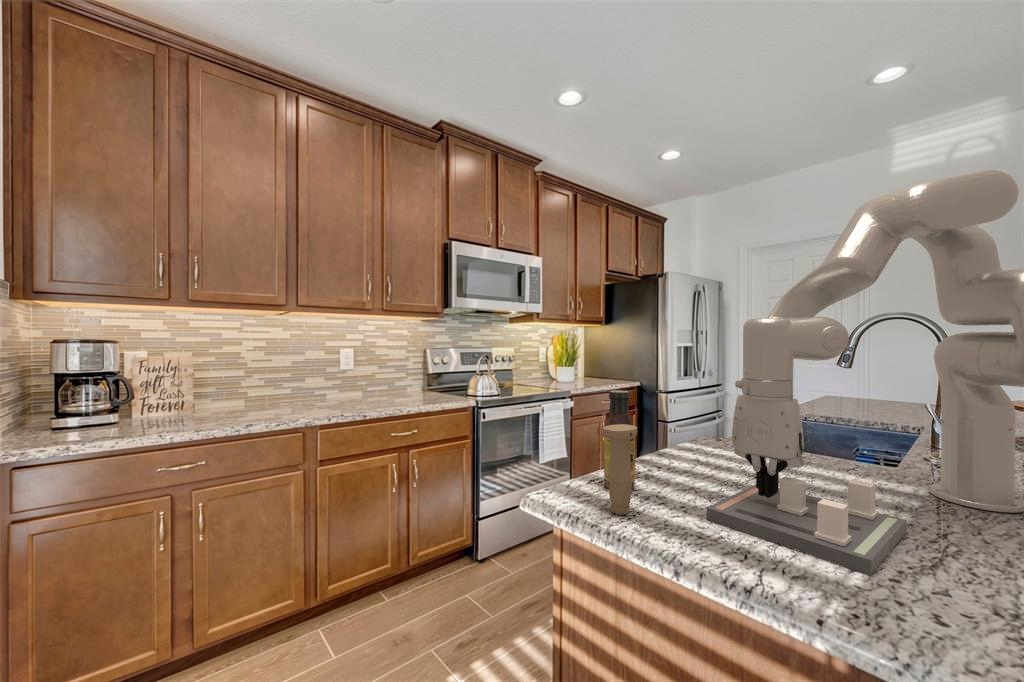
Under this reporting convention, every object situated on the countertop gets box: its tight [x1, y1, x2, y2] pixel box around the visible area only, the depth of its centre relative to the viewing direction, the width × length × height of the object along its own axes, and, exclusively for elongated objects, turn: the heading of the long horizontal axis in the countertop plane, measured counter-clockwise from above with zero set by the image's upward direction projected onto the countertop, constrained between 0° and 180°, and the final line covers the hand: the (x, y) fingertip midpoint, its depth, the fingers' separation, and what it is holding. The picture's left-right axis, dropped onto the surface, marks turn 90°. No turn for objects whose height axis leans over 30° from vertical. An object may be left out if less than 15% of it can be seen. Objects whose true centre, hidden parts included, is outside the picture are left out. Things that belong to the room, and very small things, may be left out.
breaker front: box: [814, 498, 851, 547], centre depth 62 cm, size 3×4×5 cm
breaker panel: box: [705, 483, 908, 576], centre depth 71 cm, size 20×22×2 cm
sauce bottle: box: [603, 389, 636, 491], centre depth 89 cm, size 7×6×20 cm
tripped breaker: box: [777, 476, 808, 516], centre depth 72 cm, size 3×4×5 cm
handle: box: [602, 424, 638, 516], centre depth 77 cm, size 5×6×15 cm
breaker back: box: [847, 479, 879, 520], centre depth 70 cm, size 3×4×5 cm
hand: (767, 494), depth 75 cm, fingers closed
